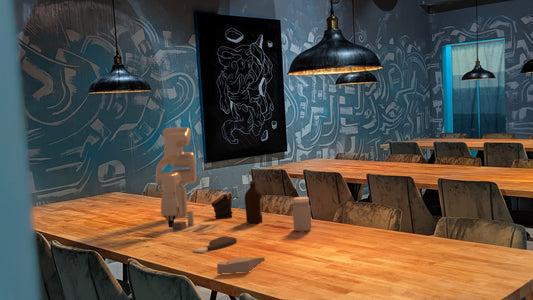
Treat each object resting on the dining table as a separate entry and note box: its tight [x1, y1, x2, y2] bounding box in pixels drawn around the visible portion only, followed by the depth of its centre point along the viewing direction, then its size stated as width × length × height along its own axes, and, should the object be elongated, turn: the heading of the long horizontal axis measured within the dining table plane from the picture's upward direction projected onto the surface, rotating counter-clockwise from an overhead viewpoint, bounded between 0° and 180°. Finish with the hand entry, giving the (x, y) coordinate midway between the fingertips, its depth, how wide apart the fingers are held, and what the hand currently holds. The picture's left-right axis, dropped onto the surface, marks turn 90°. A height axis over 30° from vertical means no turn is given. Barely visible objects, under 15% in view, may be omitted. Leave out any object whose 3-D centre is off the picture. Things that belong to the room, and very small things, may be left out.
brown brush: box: [191, 236, 237, 254], centre depth 274 cm, size 3×11×24 cm
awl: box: [187, 210, 194, 226], centre depth 324 cm, size 3×3×8 cm
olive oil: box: [244, 180, 263, 225], centre depth 330 cm, size 11×11×25 cm
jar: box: [292, 196, 312, 232], centre depth 302 cm, size 10×10×18 cm
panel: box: [162, 223, 221, 236], centre depth 316 cm, size 28×20×1 cm
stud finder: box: [172, 220, 187, 230], centre depth 314 cm, size 6×5×5 cm
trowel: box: [216, 256, 266, 275], centre depth 235 cm, size 28×16×5 cm, turn 139°
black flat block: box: [211, 194, 233, 220], centre depth 347 cm, size 4×13×15 cm, turn 129°
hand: (171, 227), depth 316 cm, fingers closed
